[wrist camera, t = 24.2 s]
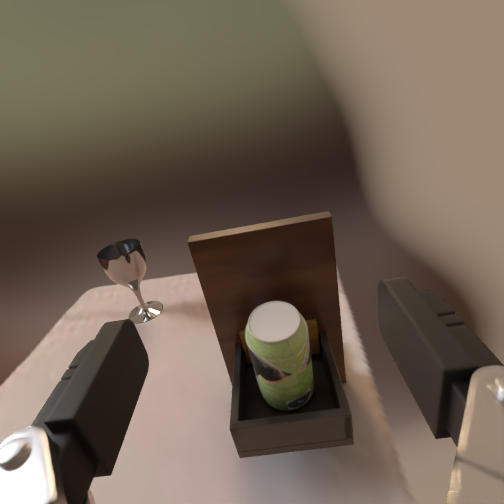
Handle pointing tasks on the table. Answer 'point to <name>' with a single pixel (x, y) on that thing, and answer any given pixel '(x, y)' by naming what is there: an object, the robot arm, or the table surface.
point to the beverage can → (280, 354)
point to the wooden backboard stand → (307, 304)
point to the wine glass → (129, 274)
